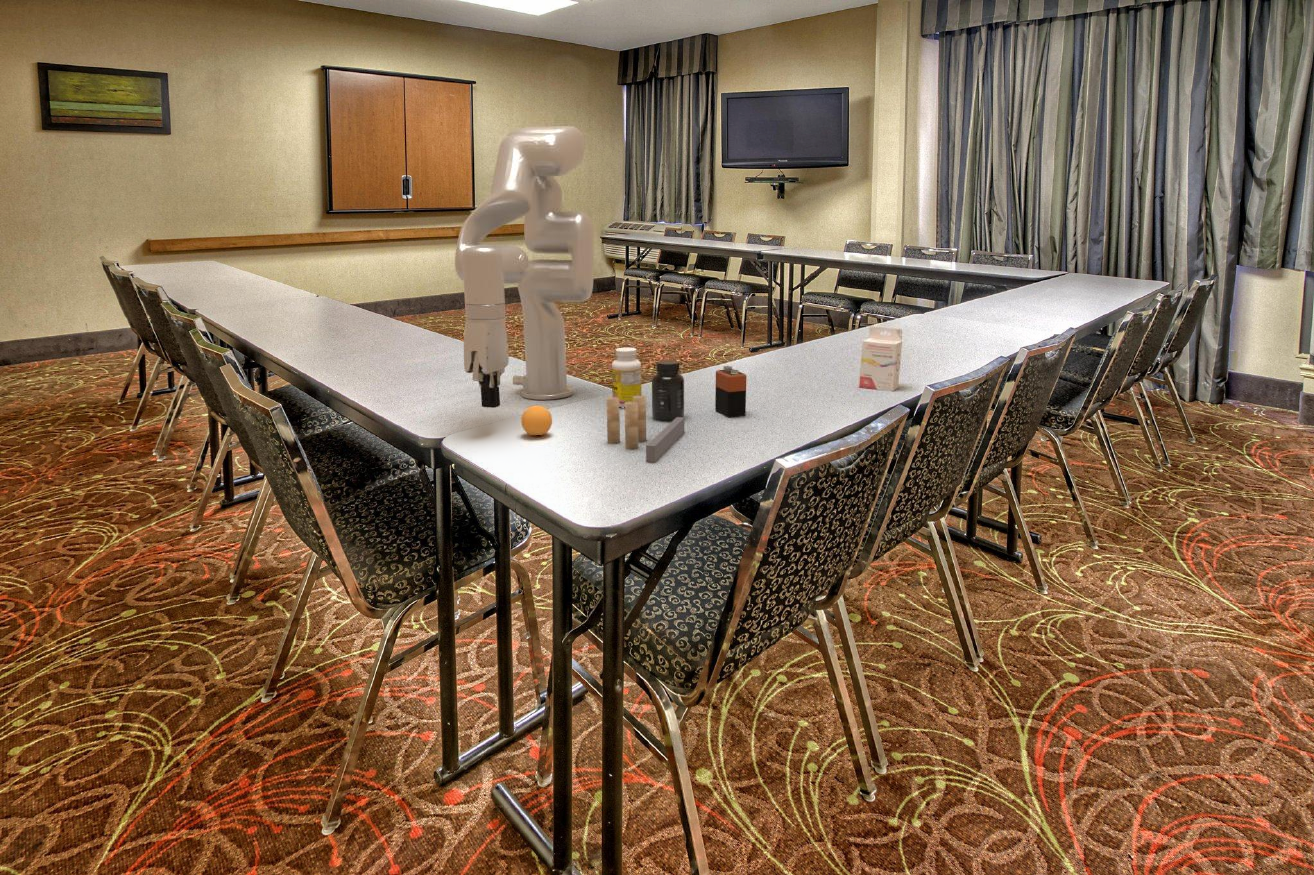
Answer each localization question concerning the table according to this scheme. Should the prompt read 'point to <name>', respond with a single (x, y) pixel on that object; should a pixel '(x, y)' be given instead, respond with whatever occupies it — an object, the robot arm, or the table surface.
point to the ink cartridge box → (881, 359)
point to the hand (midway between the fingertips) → (490, 406)
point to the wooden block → (613, 420)
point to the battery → (730, 392)
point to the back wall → (664, 440)
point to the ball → (536, 420)
